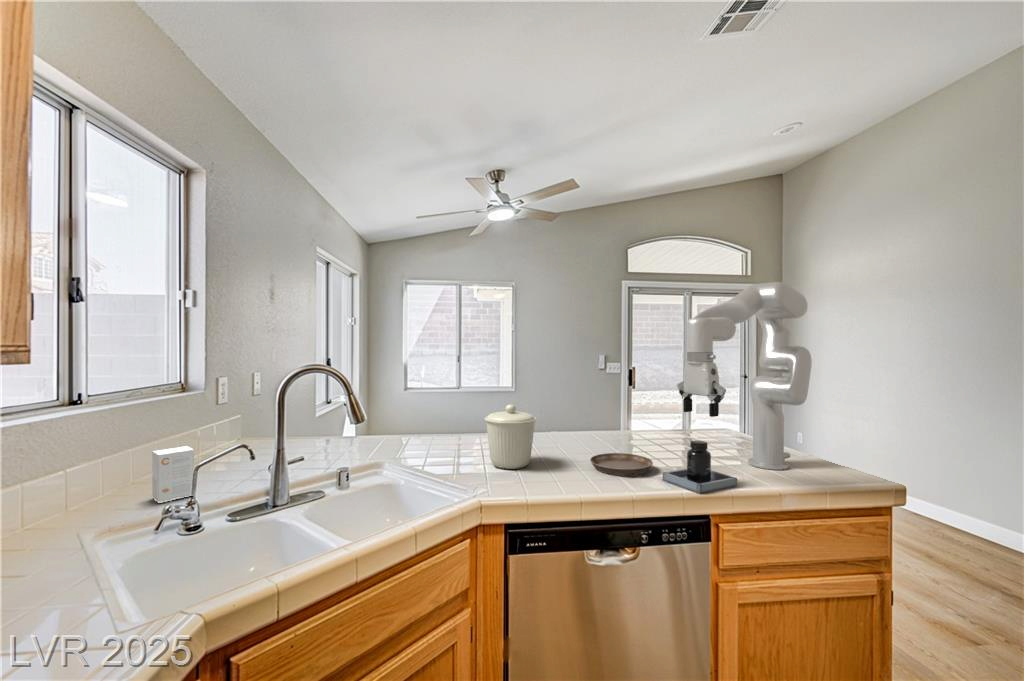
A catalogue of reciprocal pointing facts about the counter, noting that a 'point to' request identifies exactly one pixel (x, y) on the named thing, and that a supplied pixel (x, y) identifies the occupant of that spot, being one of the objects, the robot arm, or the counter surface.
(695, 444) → the supplement bottle
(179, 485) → the small box
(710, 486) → the tray
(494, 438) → the canister
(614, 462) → the plant saucer
